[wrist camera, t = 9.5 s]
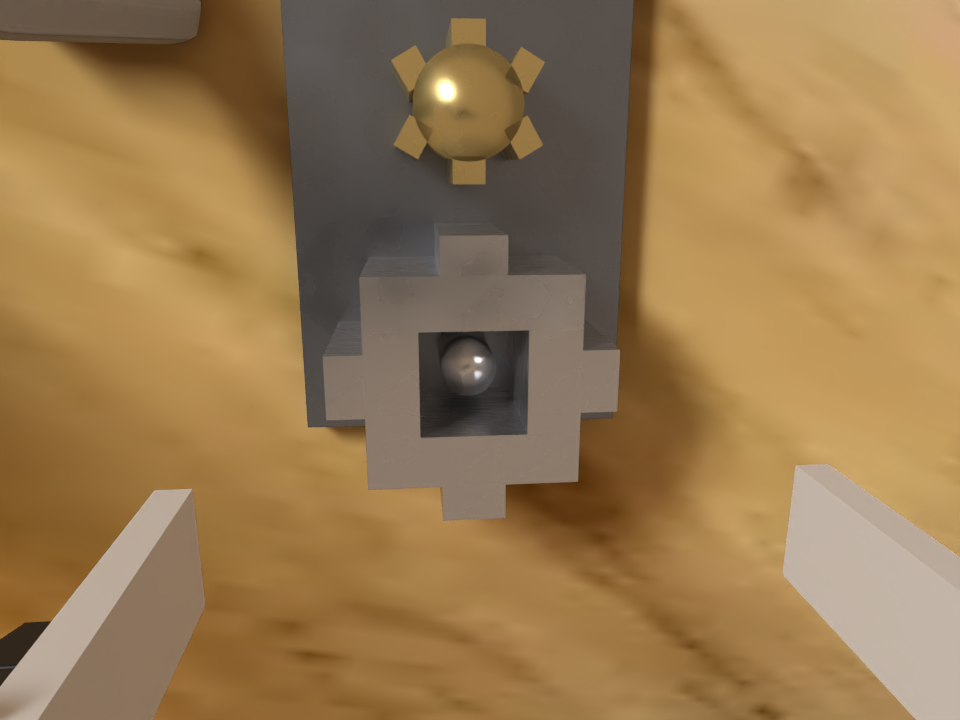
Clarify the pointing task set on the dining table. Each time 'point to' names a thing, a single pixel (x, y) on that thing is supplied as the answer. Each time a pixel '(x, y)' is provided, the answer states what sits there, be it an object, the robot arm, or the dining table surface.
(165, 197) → the dining table surface
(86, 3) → the digital clock
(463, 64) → the carrier
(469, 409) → the planet gear
